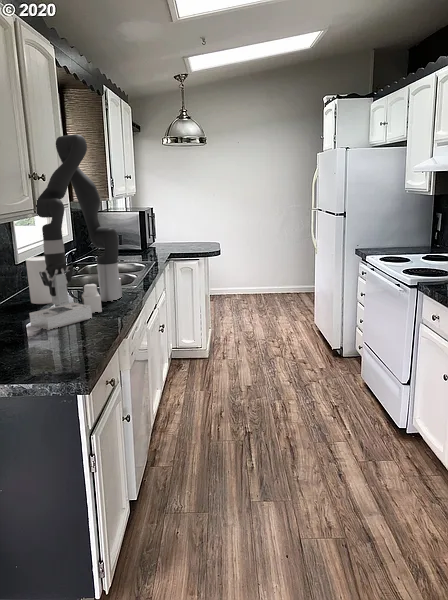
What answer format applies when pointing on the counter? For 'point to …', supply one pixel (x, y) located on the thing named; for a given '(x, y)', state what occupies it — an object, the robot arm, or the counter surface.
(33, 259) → the canister
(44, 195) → the robot arm
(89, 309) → the block
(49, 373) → the counter surface
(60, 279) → the skincare box
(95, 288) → the medicine bottle
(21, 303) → the counter surface
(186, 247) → the counter surface
